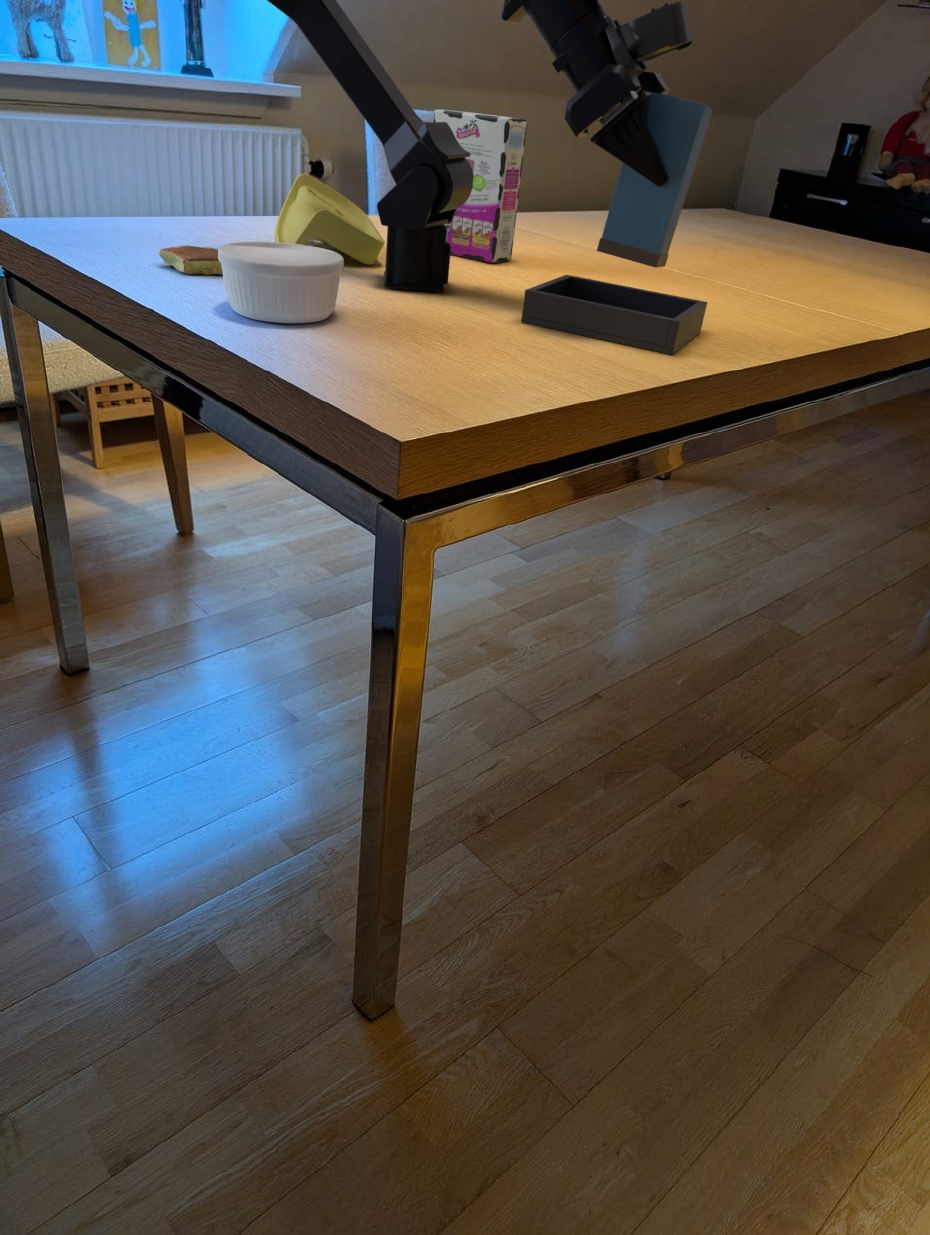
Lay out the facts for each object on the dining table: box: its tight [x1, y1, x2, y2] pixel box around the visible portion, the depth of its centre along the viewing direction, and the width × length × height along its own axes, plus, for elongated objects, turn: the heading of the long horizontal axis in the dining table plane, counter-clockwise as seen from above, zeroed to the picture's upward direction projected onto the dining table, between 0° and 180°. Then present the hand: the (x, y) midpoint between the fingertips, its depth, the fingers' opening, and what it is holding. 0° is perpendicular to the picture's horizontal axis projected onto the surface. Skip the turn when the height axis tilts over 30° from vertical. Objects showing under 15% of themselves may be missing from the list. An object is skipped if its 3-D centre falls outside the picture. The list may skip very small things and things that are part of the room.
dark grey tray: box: [520, 274, 708, 356], centre depth 89 cm, size 16×12×3 cm
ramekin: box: [217, 240, 345, 324], centre depth 80 cm, size 11×11×5 cm
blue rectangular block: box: [596, 90, 714, 268], centre depth 84 cm, size 6×4×14 cm
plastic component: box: [274, 173, 386, 266], centre depth 109 cm, size 20×7×10 cm
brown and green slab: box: [158, 245, 223, 276], centre depth 93 cm, size 11×8×2 cm
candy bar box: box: [433, 109, 528, 264], centre depth 113 cm, size 11×5×16 cm, turn 56°
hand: (668, 182), depth 84 cm, fingers closed on blue rectangular block, 4 cm apart
